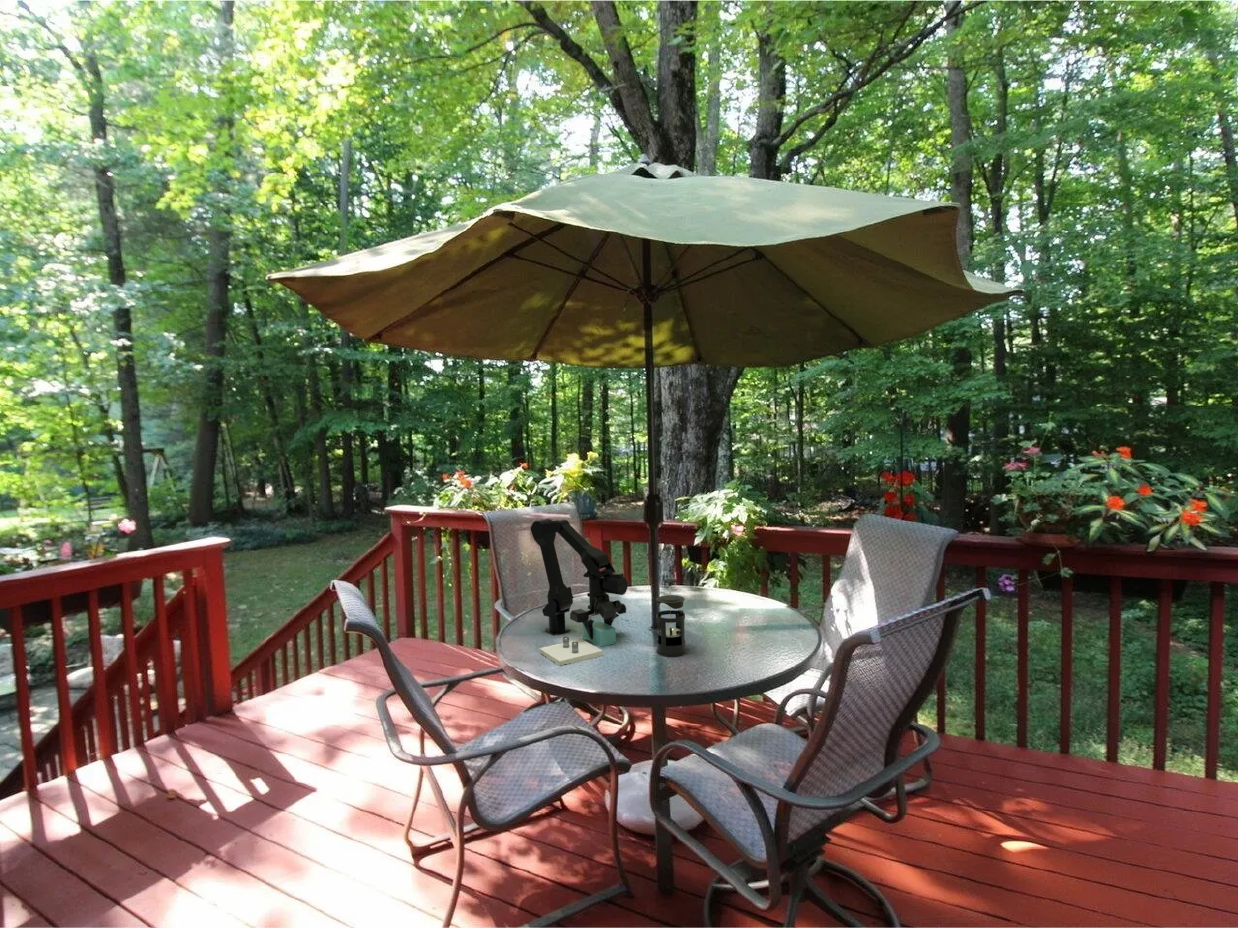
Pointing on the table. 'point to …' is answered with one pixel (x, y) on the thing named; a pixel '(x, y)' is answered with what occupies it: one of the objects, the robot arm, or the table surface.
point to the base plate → (566, 655)
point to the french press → (671, 638)
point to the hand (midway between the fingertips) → (599, 637)
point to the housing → (601, 633)
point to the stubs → (574, 645)
